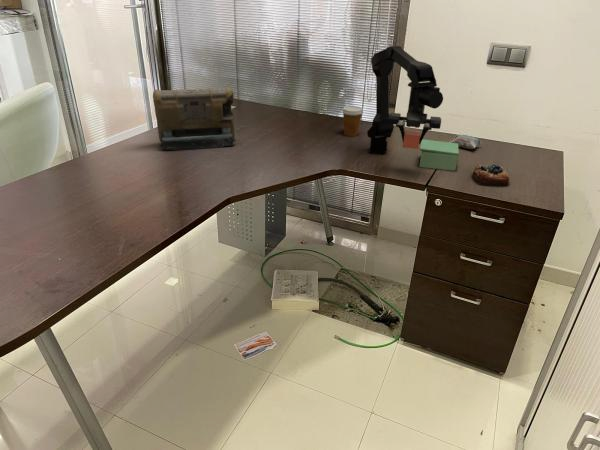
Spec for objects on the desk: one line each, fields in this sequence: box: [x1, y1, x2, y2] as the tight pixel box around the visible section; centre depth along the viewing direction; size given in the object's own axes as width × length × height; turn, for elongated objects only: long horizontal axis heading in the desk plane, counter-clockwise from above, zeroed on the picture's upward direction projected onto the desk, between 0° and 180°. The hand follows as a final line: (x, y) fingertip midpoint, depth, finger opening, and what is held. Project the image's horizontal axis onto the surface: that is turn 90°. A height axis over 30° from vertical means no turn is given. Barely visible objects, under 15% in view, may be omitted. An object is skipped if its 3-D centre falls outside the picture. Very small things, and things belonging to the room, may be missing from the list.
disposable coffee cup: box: [341, 105, 364, 137], centre depth 210 cm, size 10×10×12 cm
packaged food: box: [448, 134, 483, 150], centre depth 197 cm, size 9×12×5 cm
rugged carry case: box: [152, 86, 236, 151], centre depth 192 cm, size 33×14×25 cm, turn 108°
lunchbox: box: [419, 151, 459, 172], centre depth 180 cm, size 14×12×6 cm
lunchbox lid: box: [419, 138, 460, 156], centre depth 178 cm, size 14×12×1 cm
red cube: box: [402, 129, 422, 150], centre depth 169 cm, size 6×6×5 cm
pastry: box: [472, 164, 510, 187], centre depth 166 cm, size 11×12×6 cm
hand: (411, 143), depth 170 cm, fingers closed on red cube, 5 cm apart
